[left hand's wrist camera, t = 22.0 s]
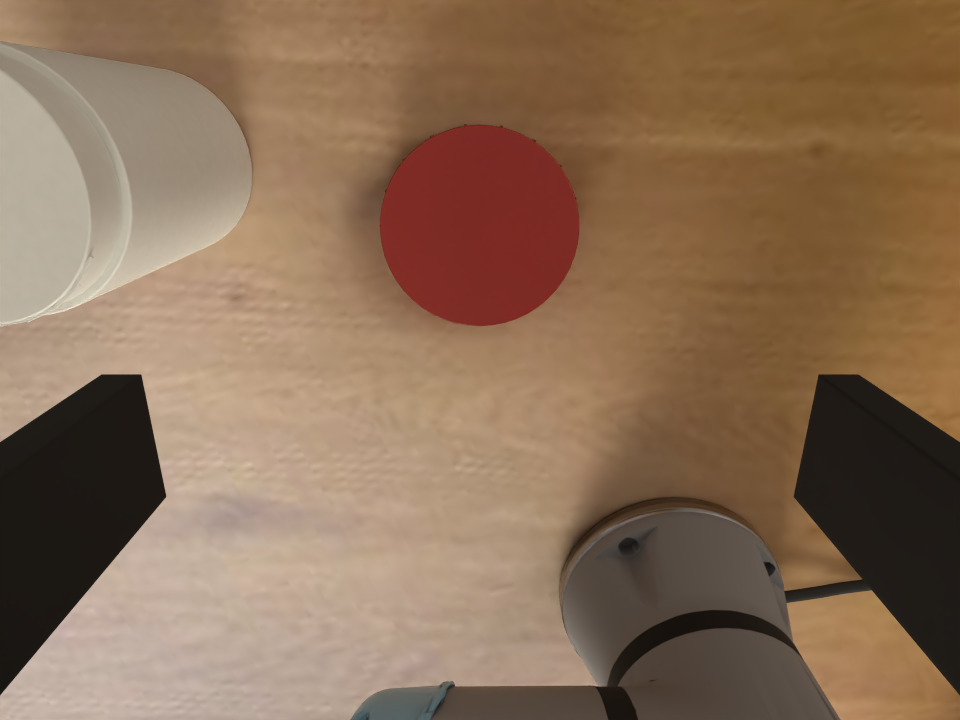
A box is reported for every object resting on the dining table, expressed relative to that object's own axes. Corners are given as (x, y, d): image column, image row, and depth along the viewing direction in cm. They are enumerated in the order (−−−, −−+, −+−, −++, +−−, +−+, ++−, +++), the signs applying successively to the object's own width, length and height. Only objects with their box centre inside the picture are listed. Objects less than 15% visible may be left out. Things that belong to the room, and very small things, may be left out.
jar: (45, 184, 36) (-245, 226, 21) (119, 25, 33) (-160, -49, 19) (203, 284, 38) (34, 383, 23) (284, 142, 35) (148, 157, 21)
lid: (528, 340, 39) (531, 353, 37) (359, 274, 37) (352, 283, 35) (606, 171, 35) (615, 175, 33) (423, 91, 34) (419, 89, 32)
